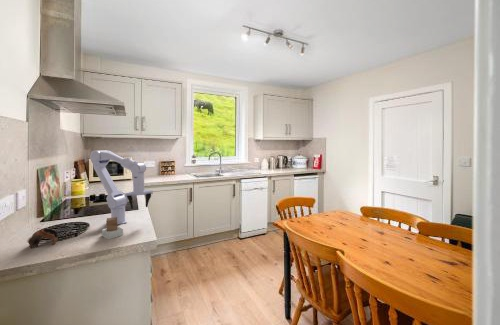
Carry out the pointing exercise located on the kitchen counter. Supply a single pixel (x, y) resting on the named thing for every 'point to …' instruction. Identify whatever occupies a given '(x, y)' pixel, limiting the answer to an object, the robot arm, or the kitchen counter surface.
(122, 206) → the robot arm
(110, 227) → the walnut block
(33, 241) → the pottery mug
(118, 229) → the base block
